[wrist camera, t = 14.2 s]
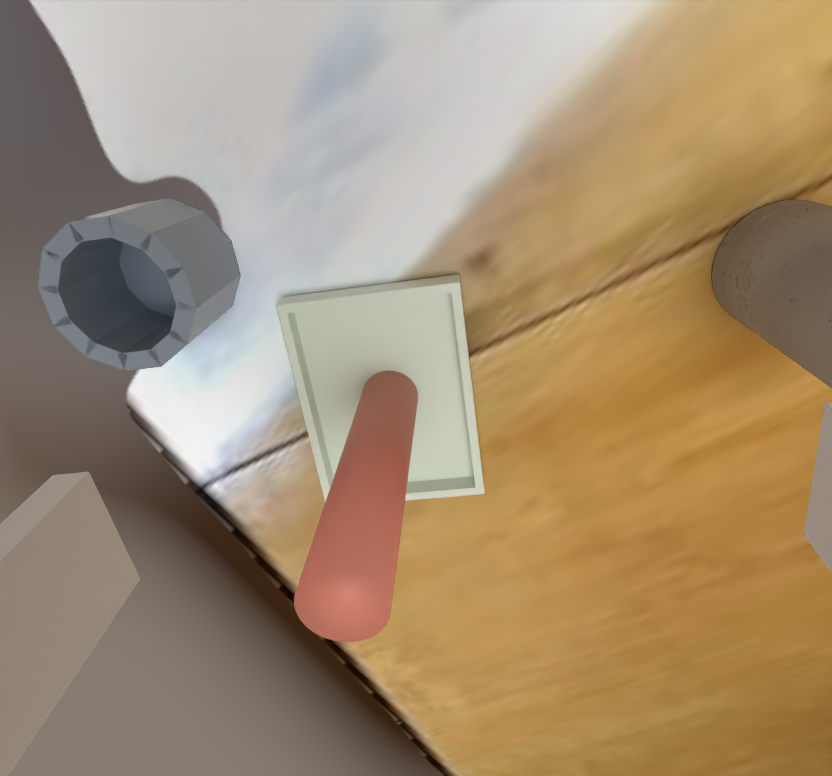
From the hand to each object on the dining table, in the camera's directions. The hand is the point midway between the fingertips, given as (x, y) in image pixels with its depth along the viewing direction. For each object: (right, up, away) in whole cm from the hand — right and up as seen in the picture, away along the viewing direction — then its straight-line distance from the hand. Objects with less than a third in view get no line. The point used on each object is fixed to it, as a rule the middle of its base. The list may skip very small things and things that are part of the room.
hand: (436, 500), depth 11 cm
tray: (-2, +2, +32) cm, 32 cm away
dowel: (-2, +2, +32) cm, 32 cm away
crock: (-17, +10, +29) cm, 35 cm away
